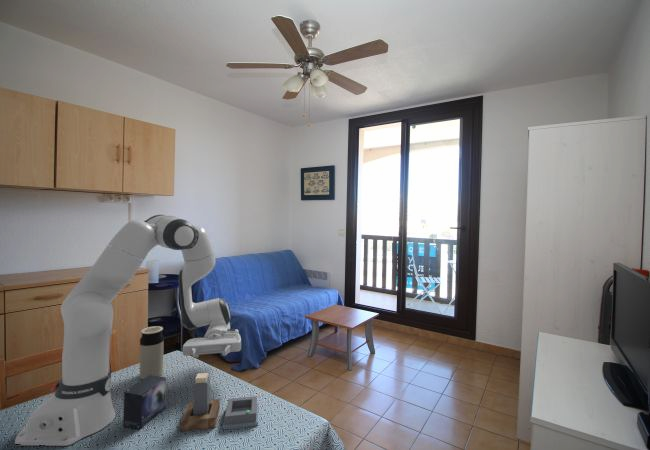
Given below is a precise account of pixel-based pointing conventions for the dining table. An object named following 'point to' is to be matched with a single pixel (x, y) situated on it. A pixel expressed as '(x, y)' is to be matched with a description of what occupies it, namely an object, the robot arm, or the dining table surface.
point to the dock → (241, 413)
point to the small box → (144, 401)
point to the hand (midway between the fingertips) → (209, 354)
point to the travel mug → (151, 352)
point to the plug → (201, 394)
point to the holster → (200, 417)
